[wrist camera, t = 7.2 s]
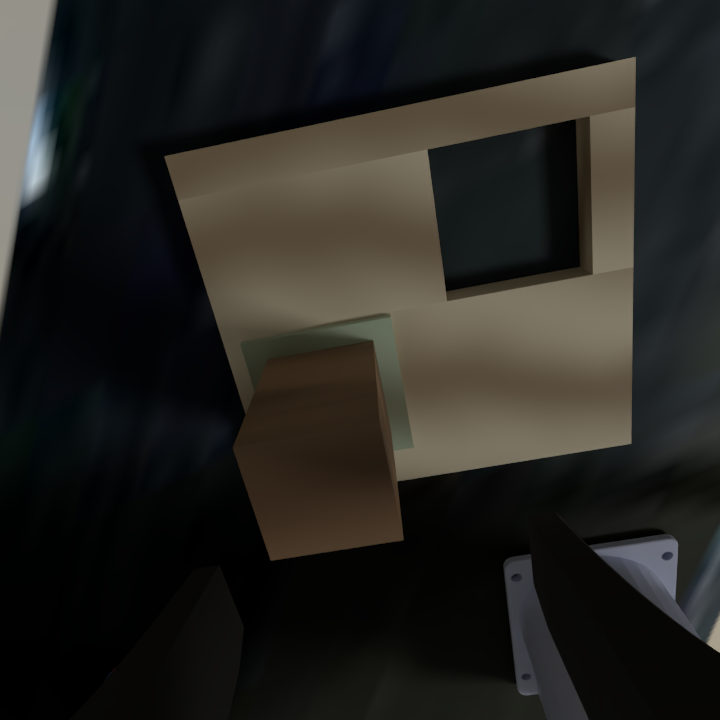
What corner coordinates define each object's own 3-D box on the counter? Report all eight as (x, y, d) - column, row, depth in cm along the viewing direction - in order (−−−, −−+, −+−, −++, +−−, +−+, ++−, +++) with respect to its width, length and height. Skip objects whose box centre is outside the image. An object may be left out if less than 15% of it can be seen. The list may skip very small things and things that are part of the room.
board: (617, 428, 23) (634, 447, 21) (276, 484, 24) (271, 506, 22) (618, 61, 17) (640, 55, 16) (175, 154, 18) (161, 156, 17)
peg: (391, 433, 21) (403, 540, 16) (292, 449, 21) (270, 560, 16) (373, 340, 20) (379, 422, 14) (267, 359, 20) (232, 448, 14)
